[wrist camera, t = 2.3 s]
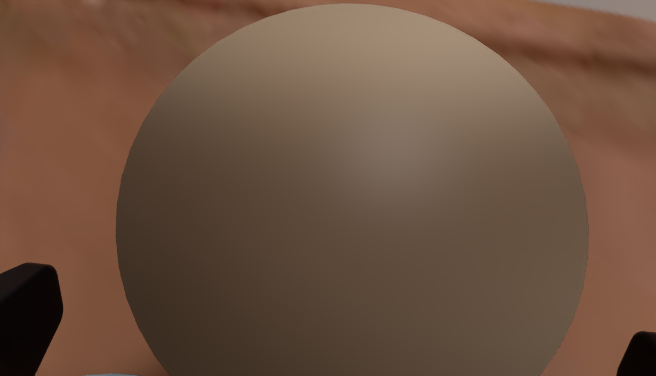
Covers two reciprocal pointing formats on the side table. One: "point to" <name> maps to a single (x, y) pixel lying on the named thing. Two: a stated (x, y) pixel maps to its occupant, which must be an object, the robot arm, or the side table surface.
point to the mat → (113, 375)
